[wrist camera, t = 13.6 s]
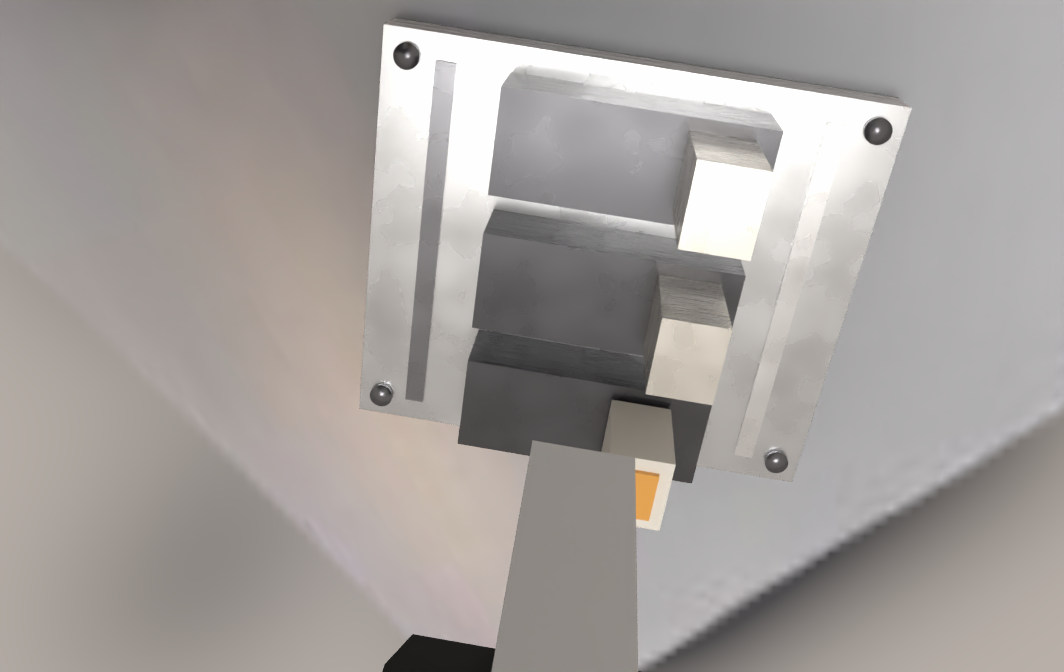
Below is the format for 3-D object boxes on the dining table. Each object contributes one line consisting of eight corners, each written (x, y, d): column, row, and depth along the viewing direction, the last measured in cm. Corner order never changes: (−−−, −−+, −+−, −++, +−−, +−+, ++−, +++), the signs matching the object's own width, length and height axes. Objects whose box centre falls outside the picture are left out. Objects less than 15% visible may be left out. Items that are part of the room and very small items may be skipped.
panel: (370, 387, 44) (311, 498, 36) (396, 18, 36) (329, 51, 28) (785, 457, 43) (821, 586, 35) (897, 97, 36) (976, 154, 28)
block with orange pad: (599, 461, 38) (596, 523, 34) (611, 399, 37) (610, 456, 33) (656, 470, 38) (659, 533, 34) (671, 409, 37) (675, 468, 33)
